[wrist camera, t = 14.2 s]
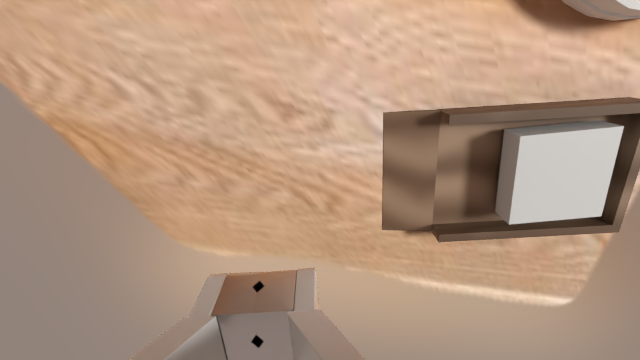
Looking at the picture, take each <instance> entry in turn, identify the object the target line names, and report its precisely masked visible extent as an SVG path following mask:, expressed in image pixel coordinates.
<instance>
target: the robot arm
mask: <svg viewBox="0 0 640 360" xmlns="http://www.w3.org/2000/svg"><path fill="white" fill-rule="evenodd" d="M129 360H365V359H364V358H363V357H362V356H361V354H360V353H359V352H358V351H357V350H356V349H355V348H354V346H353V345H352V344H351V343H350V342H349V341H348V340H347V339H346V337H345V336H344V335H343V334H342V333H341V332H340V331H339V330H338V328H337V327H336V326H335V325H334V324H333V323H332V322H331V321H330V320H329V318H328V317H327V316H326V315H325V314H324V313H323V312H322V310H319V298H318V286H317V274H316V269H315V268H306V269H298V270H289V271H274V272H249V273H229V274H227V273H226V274H211V275H210V276H209V277H208V278H207V280H206V282H205V284H204V287H203V288H202V291H201V293H200V295H199V297H198V299H197V301H196V303H195V305H194V307H193V310H192V311H191V314H190V316H189V318H183V319H182V320H180V321H179V322H177V323H176V324H175V325H173V326H172V327H171V328H169V329H168V330H167V331H165V332H164V333H163V334H161V335H160V336H159V337H158V338H156V339H155V340H154V341H152V342H151V343H150V344H148V345H147V346H146V347H144V348H143V349H142V350H140V351H139V352H138V353H137V354H135V355H134V356H133V357H131V358H130V359H129Z"/></svg>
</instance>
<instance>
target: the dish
mask: <svg viewBox="0 0 640 360" xmlns="http://www.w3.org/2000/svg"><path fill="white" fill-rule="evenodd" d="M562 2H563V3H565V4H567V5H568V6H570V7H572V8H573V9H575V10H577V11H578V12H580V13H582V14H583V15H585V16H589V17H594V18H600V19H605V20H610V21H616V20H626V19H636V18H640V0H562Z"/></svg>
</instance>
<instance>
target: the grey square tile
mask: <svg viewBox="0 0 640 360" xmlns="http://www.w3.org/2000/svg"><path fill="white" fill-rule="evenodd" d="M623 129H624V126H621V125H617V124H613V123H609V122H605V121H601V120H596V121H586V122H575V123H565V124H555V125H545V126H535V127H525V128H515V129H504V132H503V134H502V143H501V152H500V161H499V170H498V179H497V188H496V197H495V206H494V207H495V212H496V213H497V214H498V215H499V216H500V217H501V218H502V219H503V220H504V221H506V222H507V223H508V224H521V223H532V222H543V221H554V220H565V219H577V218H588V217H599V216H602V212H603V208H604V204H605V200H606V196H607V192H608V188H609V184H610V180H611V176H612V172H613V168H614V164H615V160H616V156H617V152H618V149H619V145H620V141H621V137H622V133H623Z"/></svg>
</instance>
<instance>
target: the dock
mask: <svg viewBox="0 0 640 360" xmlns="http://www.w3.org/2000/svg"><path fill="white" fill-rule="evenodd" d="M596 120H601V121H605V122H609V123H613V124H617V125H621V126H624V129H623V133H622V137H621V141H620V145H619V149H618V152H617V156H616V160H615V164H614V168H613V172H612V176H611V180H610V184H609V188H608V192H607V196H606V200H605V204H604V208H603V212H602V216H599V217H588V218H577V219H565V220H554V221H543V222H532V223H521V224H508V223H507V222H506V221H504V220H503V219H502V218H501V217H500V216H499V215H498V214H497V213H496V212H495V207H494V206H495V197H496V188H497V179H498V170H499V161H500V152H501V143H502V134H503V132H504V129H515V128H525V127H535V126H545V125H555V124H565V123H575V122H586V121H596ZM639 169H640V99H638V98H631V97H627V98H611V99H595V100H579V101H563V102H547V103H531V104H515V105H499V106H483V107H467V108H451V109H438V110H421V111H402V112H386V113H384V139H383V225H382V230H407V231H432V232H433V234H434V235H435V237H436V239H437V240H438V242H450V241H468V240H486V239H504V238H522V237H540V236H558V235H576V234H594V233H612V232H619V230H620V227H621V224H622V221H623V218H624V215H625V212H626V209H627V206H628V202H629V199H630V196H631V193H632V190H633V187H634V184H635V181H636V178H637V175H638V172H639Z"/></svg>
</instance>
